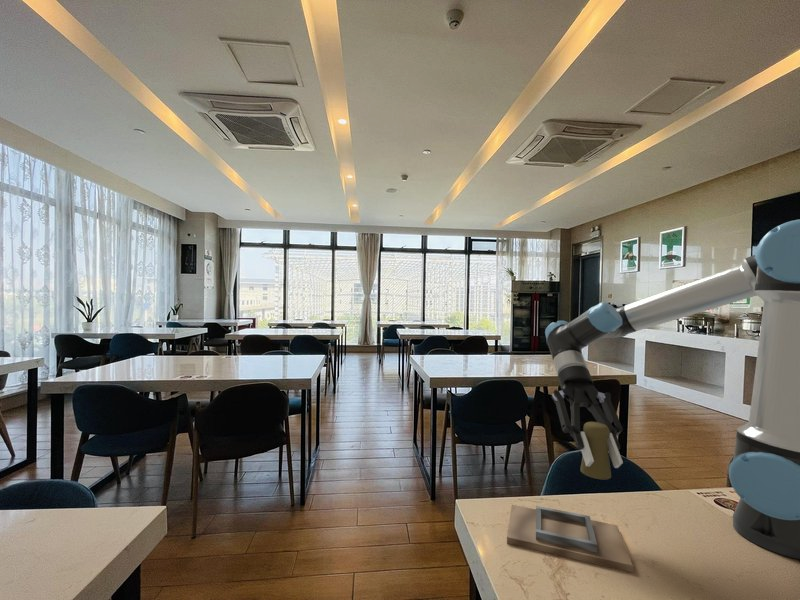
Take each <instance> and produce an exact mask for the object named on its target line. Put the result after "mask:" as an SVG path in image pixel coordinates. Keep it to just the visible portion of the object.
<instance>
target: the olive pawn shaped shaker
mask: <svg viewBox="0 0 800 600" xmlns="http://www.w3.org/2000/svg"><path fill="white" fill-rule="evenodd" d="M582 430H583V431H582V432H585V435H586V438H587V441H588V444H589V447H590V450H591V453H592V456H593V459H594V462H593V463H592V464H591V466H590V467H589V466H586V464H585V461H584V458H583V456H582V457H581V464H580V469H579V470H580V472H581V473H582V474H583V475H584V476H586V477H590V478H591V479H592V478H593V479H597V480H604V481H605V480H609V479H611V478H612V471H611V465H610V464H611V463H610V454H609V452H608V446H607V439H608V438H609V436H610V431H609V428H608V427H607V426H606V425H605V424H602V423H599V422H597V421H587V422H585V423H584V424H583V427H582Z"/></svg>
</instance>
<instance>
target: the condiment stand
mask: <svg viewBox="0 0 800 600" xmlns="http://www.w3.org/2000/svg"><path fill="white" fill-rule="evenodd" d="M535 507H536V508H531V507H526V506H522V505H521V506H520V505H517V504H511V507H510V515H509V521H508V528H507V534H506V535H507V536H506V544H510V545H514V546H518V547H523V548H526V549H531V550H535V551H539V552H544V553H546V554H547V553H548V554H552V555H556V556H560V557H565V558H569V559H574V560H577V561H583V562H587V563H592V564H595V565H600V566H604V567H609V568H612V569H617V570H621V571H626V572H629V573H634V568H633V567H634V565H633V563H632V560H631V557H630V555H629V552H628V550H627V549H628V548H627V546H626V543H625V542H624V539H623V537H622V534H621V531H620V529H619V526H618V524H614V523H608V522H603V521H598V520H594V519H593V520H592V519H591V517H590V515H588V514H587V515H585V514H581V513H575V512H570V511H565V510H560V509H555V508H550V507H544V506H540V505H536V506H535Z"/></svg>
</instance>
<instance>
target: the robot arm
mask: <svg viewBox="0 0 800 600" xmlns="http://www.w3.org/2000/svg"><path fill="white" fill-rule="evenodd" d="M753 297H758V298H759V299H761V300H762V302H763V308H762V313H761V323H760V332H759V338H758V339H759V340H758V346H757V347H758V348H757V355H756V363H755V370H754V371H755V372H754V379H753V386H752V394H751V404H750V411H749V418H748V421H747V423H744V424H742V425H740V426H738V427H737V430H736V435H735V444H734V451H733V456H732V457H733V458H732V460H731V461H730V463H729V465H728V476H729V482H730V484H731V487H732V488H733V490H734V492H735V493H736V494H737V495H738V497H739V500H738V502H737V503H736V507H735V509H734V511H733V513H732V526H733V528H734V530H735V531H736V532H737V533H738V534H740V536H742V537H743V538H745V539H747V540H748V541H750V542H751V543H753V544H755V545H758V546H760V547H762V548H764V549H766V550H768V551H770V552H774V553H777V554H780V555H782V556H785V557H789V558H792V559H796V560H800V219H795V220H790V221H787V222H784V223H782V224H780V225H777V226H775V227H774V228H772V229H771V230H769V231H768V232H767V233H766V234H765V235H764V236H763V237H762V238H761V239H760V241H759V243H758V244H757V246H756V250H755V252H754V255H750V256H747V257H745V258H743V259H742V260H741V262H740V264H739V265H736V266H734V267H731V268H728V269H725V270H722V271H719V272H717V273H714V274H711V275H707V276H705V277H703V278H699V279H697V280H694V281H691V282H689V283H684V284H683V285H679V286H677V287H674V288H670V289H669V290H668V289H667V290H666V291H662V292H660V293H657V294H655V295H652V296H649V297H645V298H643V299H640V300H637V301H633V302H632V303H628V304H626V305H624V306H620V307H616V308H615V307H614V306H613V305H612V304H610V303H609V302H606V301H602V302H601V301H600V303H598V304H596V305H594V306H591V307H590V308H589V309H588V310H586V311H585V312H583V313H582V314H579V316H578V317H575V318H574V319H573V320H571V321H569V322H568V321H565V320H557V321H556V322H554V321H553V322H551V323H550V324H548V326H547V327H546V328H545V329H544V330H545V331H544V334H545V338H546V339H545V340H546V345H547V347H548V349H549V352H550V355H551V358H552V361H553V365H554V366H553V367H554V368H555V371H556V375H557V379H558V382H559V385H560V388H561V390H558V389H554V390H553V393H552V395H551V397H550V398H551V399H552V400H553V402H554V404H555V406H556V410H557V415H558V419H559V422H560V426H561V429H562V432H563V433H564V434H567V433H568V434H569V435H570V437H571V438H573V440H574V441H573V442H574V444H575V448H576V449H577V450H580V451H581V454H582V457H583V458H584V461H585V464H586V466H589V467H590V466H591V464H592V463H593V462H594V459H593V456H592V453H591V450H590V447H589V444H588V441H587V438H586V435H585V432H583V431H581V412H580V411H581V410H580V408H581V407H583V408H586V409H587V410H588V412H589V413H591V415H592V417H594V420H596V421H595V422H599V423H602V424H605V425H606V426H607V427H608V428H609V431H610V436H609V438H608V439H607V446H608V454H609V458H610V460H611V462H612V466H613V467H614V468H615V469H619V468H620V467H621V466H622V464H624V462H623V459H622V457H621V454H620V451H619V450H620V449H621V445H620V442H619V439H618V436H619V435H620V434H621V433H622V432H623V430H624V428H623V426H622V423H621V421H620V419H619V417H618V414H617V412H616V410H615V407H614V405H613V402H612V394H611V393H610V392H608V391H606V392H605V393H603V392H600V391H598V389H597V388H596V387H595V385H594V380H593V378H592V376H591V372H590V371H589V369H588V365H587V362H586V360H585V358H584V355H583V352H582V349H585V348H586V347H588V346H590V345H591V344H593V343H595V342H596V341H599V340H601V339H619V338H623V337H626V336H628V335H630V334H633V333H635V332H638V331H642V330H645V329H649V328H652V327H655V326H659V325H661V324H665V323H669V322H672V321H676V320H678V319H682V318H686V317H689V316H692V315H696V314H699V313H703V312H706V311H709V310H713V309H716V308H719V307H723V306H726V305H730V304H732V303H736V302H740V301H743V300H747V299H749V298H753ZM564 398H565V399H566V400H567V401H568V402H569V406H570V407H569V408H570V416H569V414H568V410H567V407H566V403H565V400H564ZM597 399H598V400H599V401H598V400H597ZM600 404H601V406H600ZM601 407H602V408H601ZM569 417H570V418H569Z"/></svg>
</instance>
